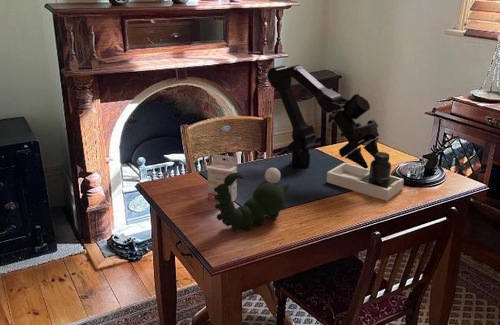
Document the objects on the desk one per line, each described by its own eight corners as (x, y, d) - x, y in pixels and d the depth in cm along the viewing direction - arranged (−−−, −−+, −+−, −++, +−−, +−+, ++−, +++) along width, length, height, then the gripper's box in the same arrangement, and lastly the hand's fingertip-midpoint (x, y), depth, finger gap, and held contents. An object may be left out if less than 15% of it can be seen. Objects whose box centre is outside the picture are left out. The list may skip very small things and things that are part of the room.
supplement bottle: (383, 193, 166) (387, 159, 161) (364, 187, 169) (367, 154, 165) (391, 186, 171) (395, 153, 166) (373, 181, 174) (376, 149, 170)
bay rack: (326, 182, 176) (327, 171, 175) (343, 171, 185) (344, 161, 183) (387, 201, 162) (388, 189, 161) (402, 189, 171) (404, 178, 169)
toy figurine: (231, 247, 139) (300, 214, 152) (225, 186, 131) (298, 157, 144) (212, 232, 146) (280, 203, 159) (206, 174, 138) (277, 147, 151)
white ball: (275, 178, 179) (276, 164, 177) (283, 184, 174) (283, 169, 172) (256, 182, 176) (256, 167, 174) (263, 188, 171) (264, 173, 169)
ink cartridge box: (207, 200, 162) (206, 158, 156) (213, 194, 166) (212, 153, 161) (231, 204, 159) (231, 162, 154) (237, 198, 164) (237, 156, 158)
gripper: (350, 119, 159) (378, 160, 157) (377, 107, 172) (403, 145, 170) (327, 137, 166) (353, 176, 164) (354, 124, 180) (379, 160, 177)
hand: (373, 164), depth 169 cm, fingers open, 9 cm apart
